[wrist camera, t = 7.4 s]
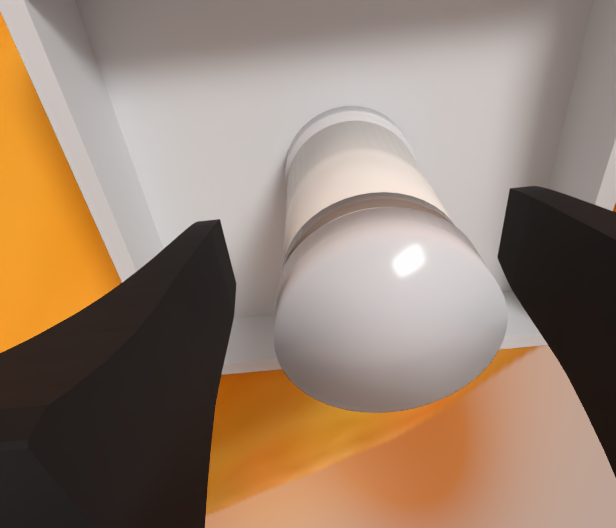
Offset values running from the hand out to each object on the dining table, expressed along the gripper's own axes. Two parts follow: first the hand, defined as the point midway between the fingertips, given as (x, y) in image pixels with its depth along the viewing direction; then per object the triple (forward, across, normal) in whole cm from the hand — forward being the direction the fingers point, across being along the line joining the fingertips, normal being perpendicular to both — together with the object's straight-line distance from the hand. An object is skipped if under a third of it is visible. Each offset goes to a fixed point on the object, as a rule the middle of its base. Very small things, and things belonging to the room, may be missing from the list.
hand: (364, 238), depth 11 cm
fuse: (+4, 0, 0) cm, 4 cm away
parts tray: (+5, 0, 0) cm, 5 cm away
